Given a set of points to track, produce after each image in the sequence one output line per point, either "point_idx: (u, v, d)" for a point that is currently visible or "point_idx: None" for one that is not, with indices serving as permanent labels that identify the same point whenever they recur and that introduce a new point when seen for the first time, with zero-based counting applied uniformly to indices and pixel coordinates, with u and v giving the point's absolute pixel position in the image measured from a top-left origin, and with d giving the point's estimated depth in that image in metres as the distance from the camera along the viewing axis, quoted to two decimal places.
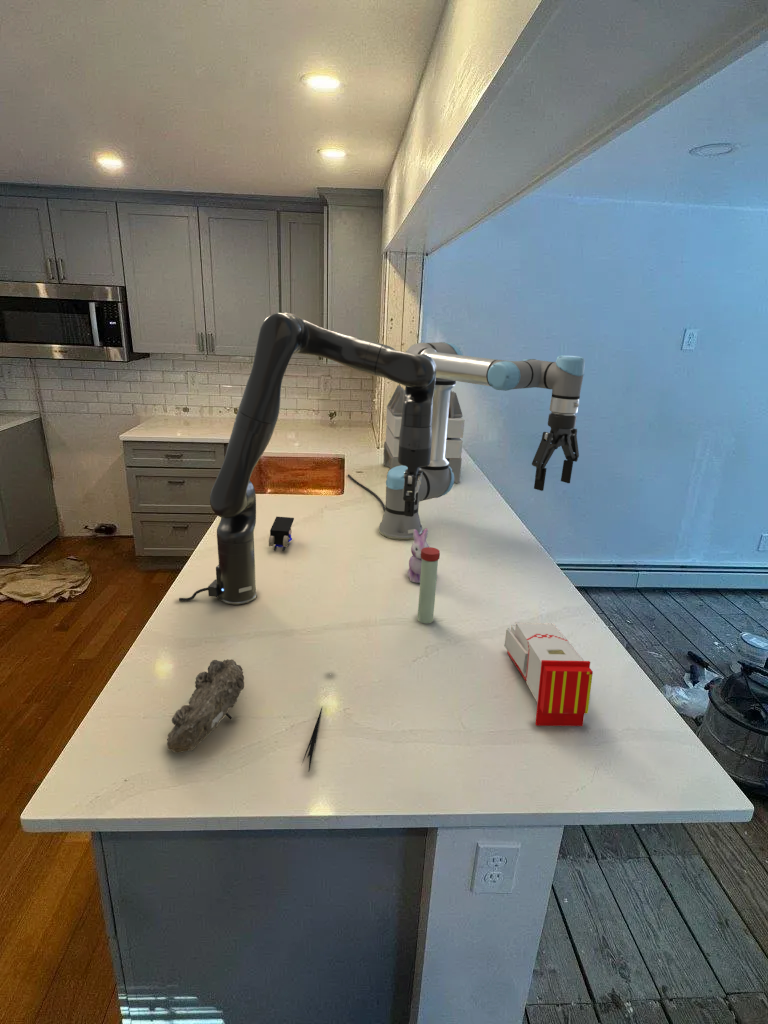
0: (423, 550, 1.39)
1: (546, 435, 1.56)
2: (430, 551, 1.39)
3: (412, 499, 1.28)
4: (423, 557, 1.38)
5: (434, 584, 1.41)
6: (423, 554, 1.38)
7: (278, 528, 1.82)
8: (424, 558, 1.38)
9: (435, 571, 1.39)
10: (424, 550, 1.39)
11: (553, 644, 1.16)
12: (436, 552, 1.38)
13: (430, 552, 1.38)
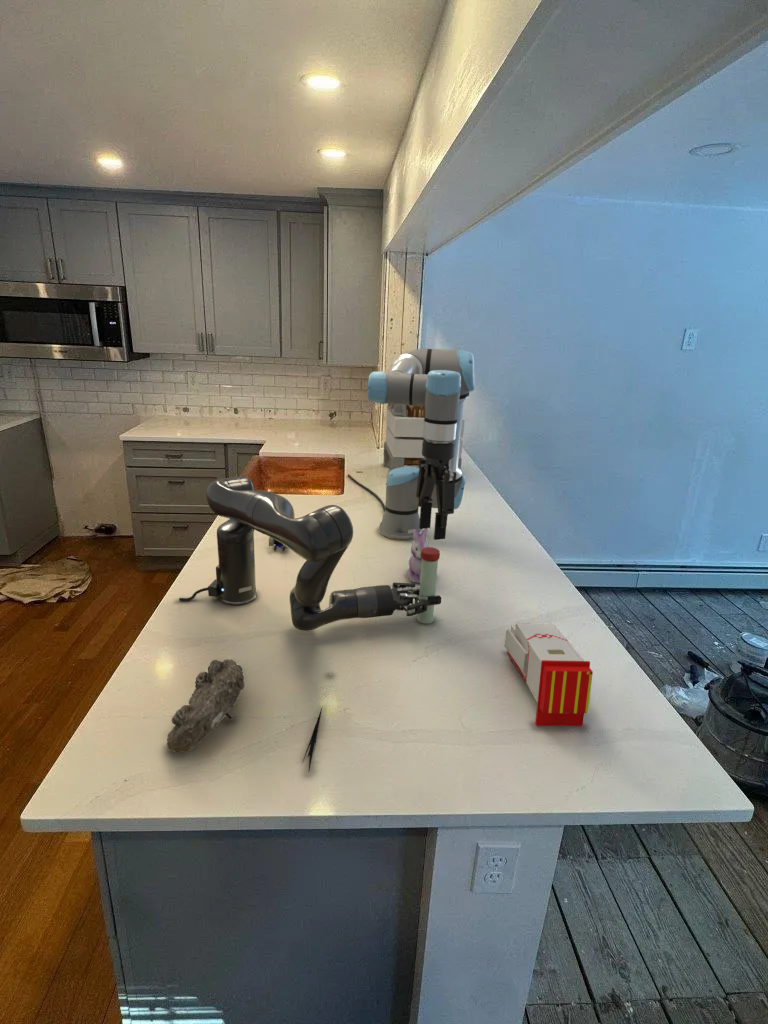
0: (423, 550, 1.39)
1: (451, 477, 1.26)
2: (430, 551, 1.39)
3: None
4: (423, 557, 1.38)
5: (434, 584, 1.41)
6: (423, 554, 1.38)
7: None
8: (424, 558, 1.38)
9: (435, 571, 1.39)
10: (424, 550, 1.39)
11: (553, 644, 1.16)
12: (436, 552, 1.38)
13: (430, 552, 1.38)
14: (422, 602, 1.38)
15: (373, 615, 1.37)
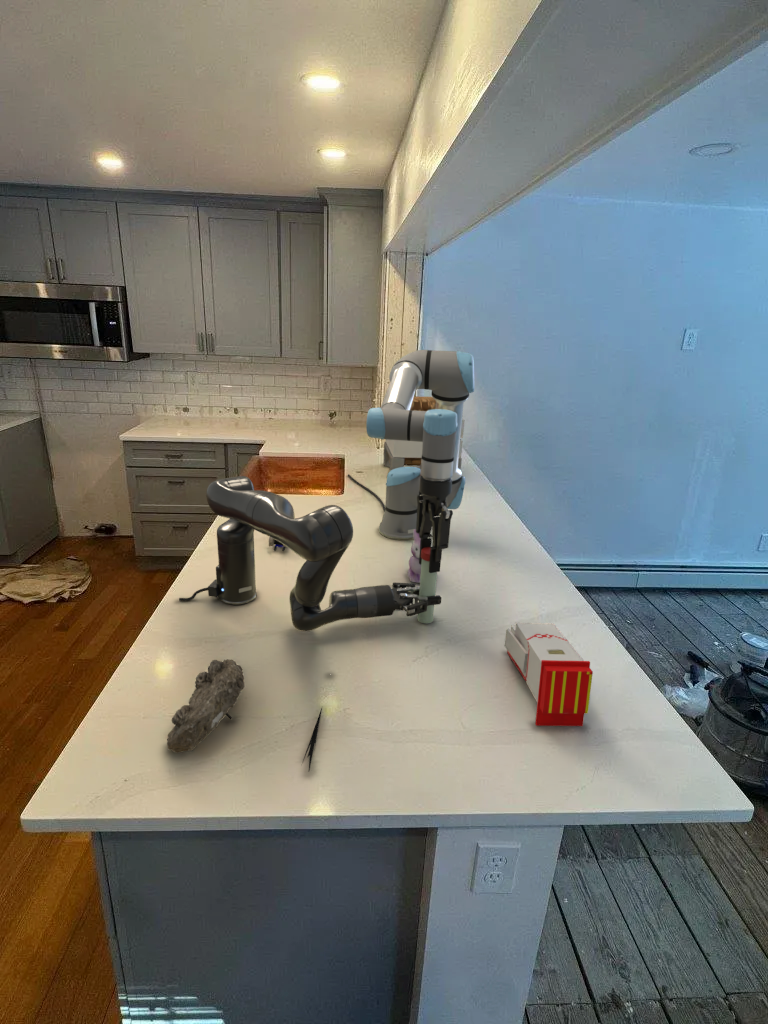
0: (423, 550, 1.39)
1: (448, 515, 1.30)
2: None
3: None
4: (423, 557, 1.38)
5: (434, 584, 1.41)
6: (423, 554, 1.38)
7: None
8: (424, 558, 1.38)
9: None
10: (424, 550, 1.39)
11: (553, 644, 1.16)
12: None
13: None
14: (422, 602, 1.38)
15: (373, 615, 1.37)
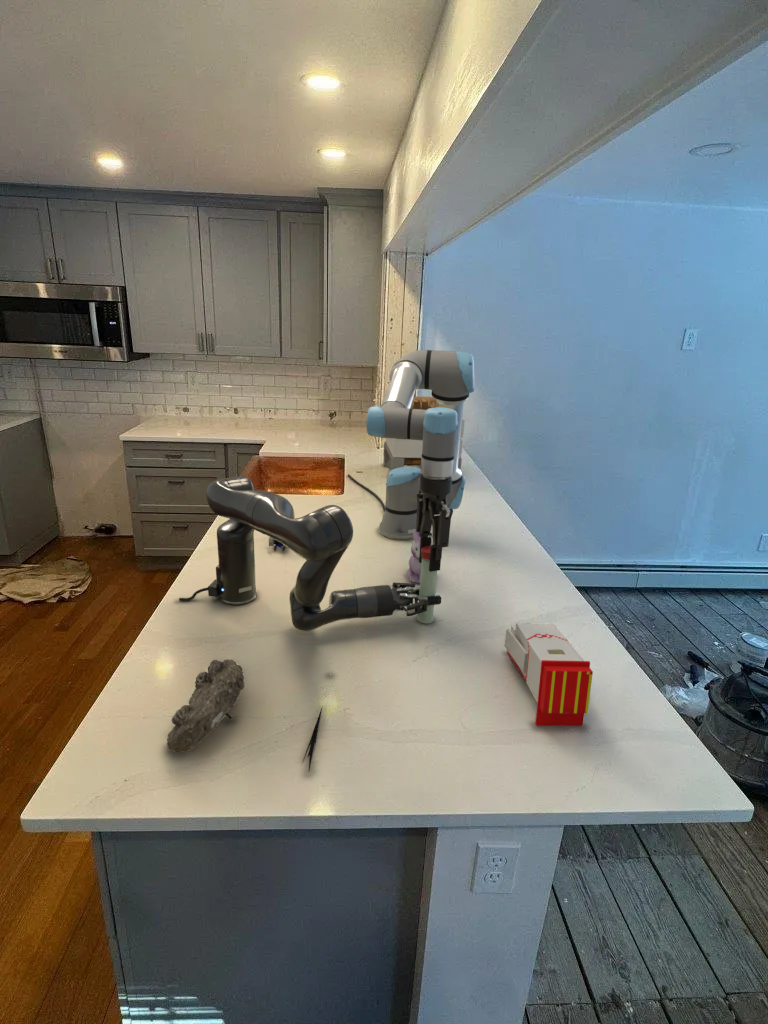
0: None
1: (448, 514, 1.29)
2: None
3: None
4: None
5: (434, 584, 1.41)
6: None
7: None
8: None
9: (435, 571, 1.39)
10: None
11: (553, 644, 1.16)
12: None
13: None
14: (422, 602, 1.38)
15: (373, 615, 1.37)
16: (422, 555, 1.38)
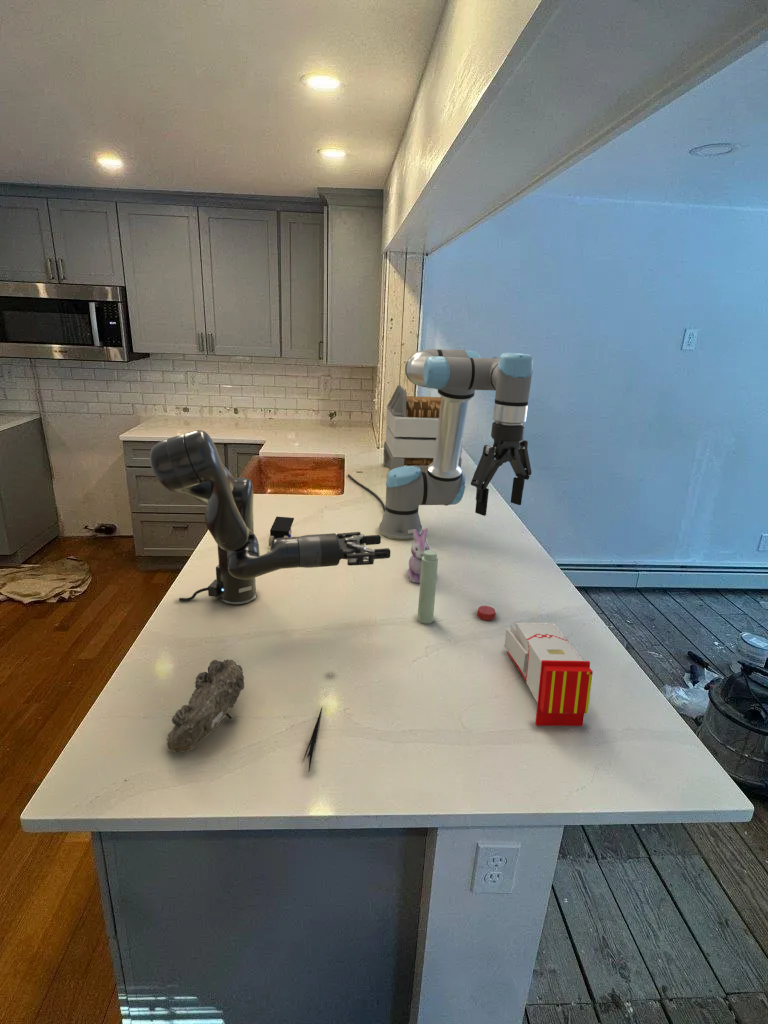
0: (491, 608, 1.49)
1: None
2: (485, 609, 1.48)
3: None
4: None
5: (434, 584, 1.41)
6: None
7: (278, 528, 1.82)
8: None
9: (435, 571, 1.39)
10: (491, 608, 1.49)
11: (553, 644, 1.16)
12: (480, 609, 1.48)
13: (484, 608, 1.49)
14: (368, 554, 1.26)
15: (317, 564, 1.28)
16: (493, 617, 1.47)
